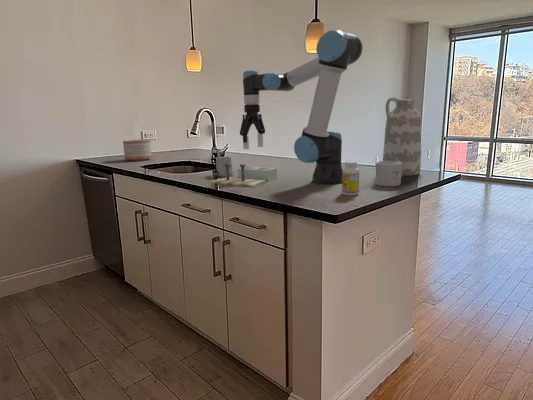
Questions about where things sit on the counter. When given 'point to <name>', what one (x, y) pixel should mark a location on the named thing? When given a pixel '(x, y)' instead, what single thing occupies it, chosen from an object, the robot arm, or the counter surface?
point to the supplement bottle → (350, 179)
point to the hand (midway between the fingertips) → (253, 148)
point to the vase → (403, 136)
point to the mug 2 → (388, 173)
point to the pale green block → (258, 173)
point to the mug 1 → (221, 167)
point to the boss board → (238, 181)
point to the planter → (137, 149)
